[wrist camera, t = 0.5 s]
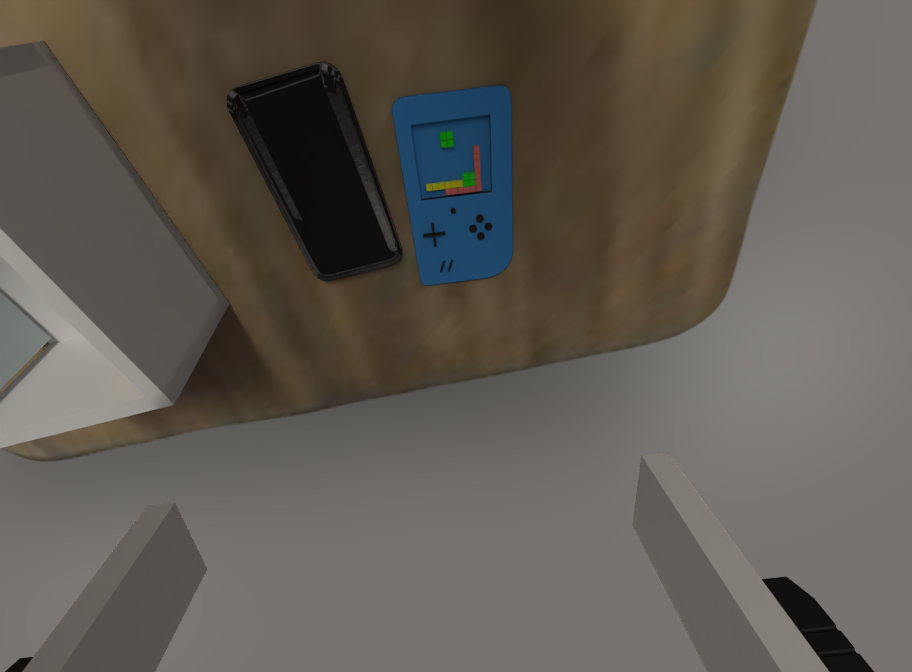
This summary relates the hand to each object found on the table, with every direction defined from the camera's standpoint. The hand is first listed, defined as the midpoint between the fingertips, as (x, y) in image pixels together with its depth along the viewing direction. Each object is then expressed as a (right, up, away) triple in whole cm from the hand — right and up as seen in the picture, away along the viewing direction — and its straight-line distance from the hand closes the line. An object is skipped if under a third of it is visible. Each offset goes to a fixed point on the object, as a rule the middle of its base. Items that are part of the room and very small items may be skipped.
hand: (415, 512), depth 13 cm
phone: (-9, +17, +21) cm, 28 cm away
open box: (-29, +13, +21) cm, 38 cm away
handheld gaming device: (+1, +16, +23) cm, 28 cm away
